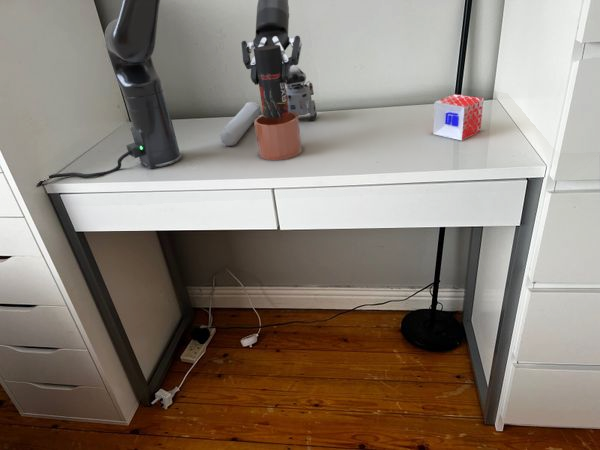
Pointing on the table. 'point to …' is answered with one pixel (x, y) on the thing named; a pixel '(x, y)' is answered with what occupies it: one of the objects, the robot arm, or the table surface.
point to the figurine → (300, 94)
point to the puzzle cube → (458, 116)
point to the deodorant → (271, 81)
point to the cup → (278, 137)
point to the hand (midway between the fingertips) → (269, 81)
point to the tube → (240, 124)
